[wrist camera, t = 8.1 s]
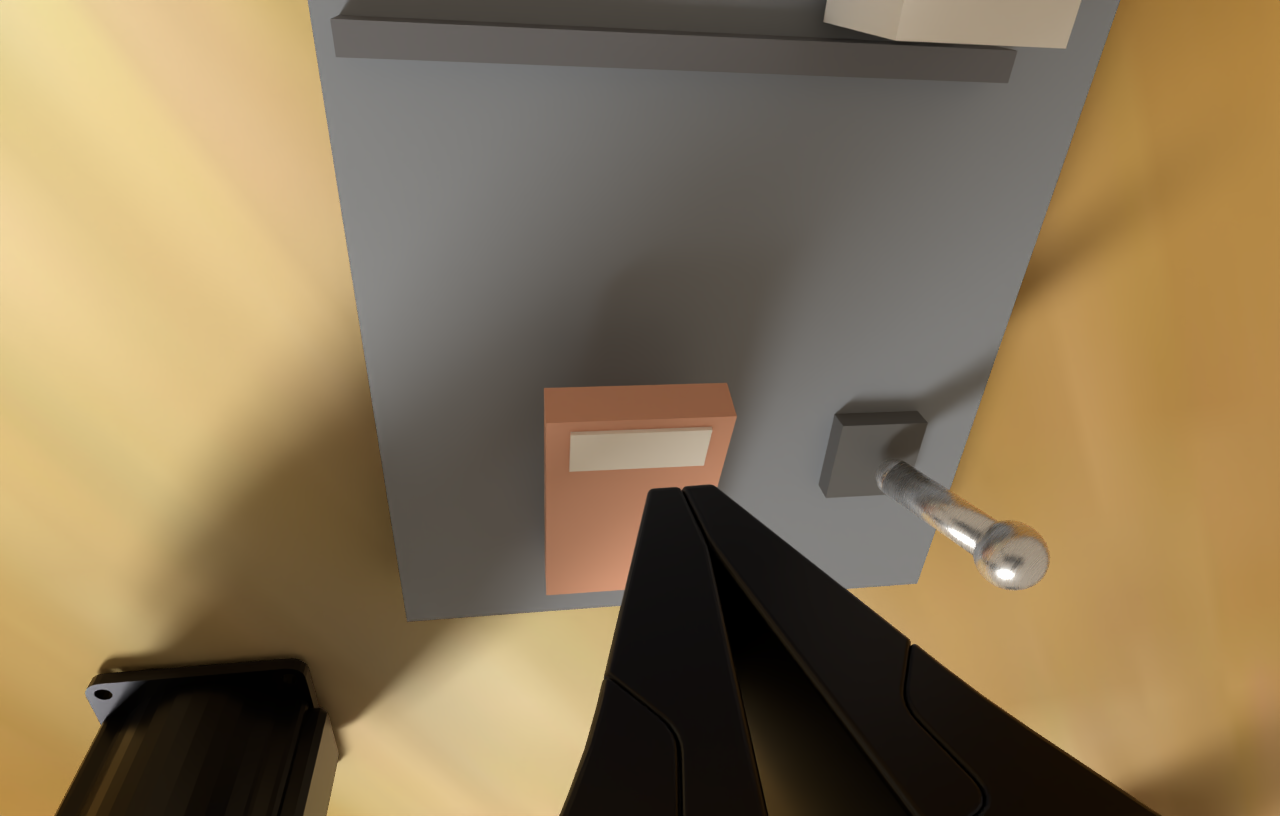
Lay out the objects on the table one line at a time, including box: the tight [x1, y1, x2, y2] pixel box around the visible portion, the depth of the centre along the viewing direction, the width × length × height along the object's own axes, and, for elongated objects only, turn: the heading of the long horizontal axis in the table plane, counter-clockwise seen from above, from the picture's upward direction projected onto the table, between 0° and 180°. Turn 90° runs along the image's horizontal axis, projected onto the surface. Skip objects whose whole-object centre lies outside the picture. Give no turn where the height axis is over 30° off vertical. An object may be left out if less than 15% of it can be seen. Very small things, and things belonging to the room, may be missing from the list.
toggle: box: [875, 459, 1050, 590], centre depth 18 cm, size 2×2×5 cm
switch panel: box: [308, 0, 1120, 622], centre depth 17 cm, size 16×23×3 cm
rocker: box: [544, 383, 737, 595], centre depth 18 cm, size 4×7×1 cm, turn 176°
